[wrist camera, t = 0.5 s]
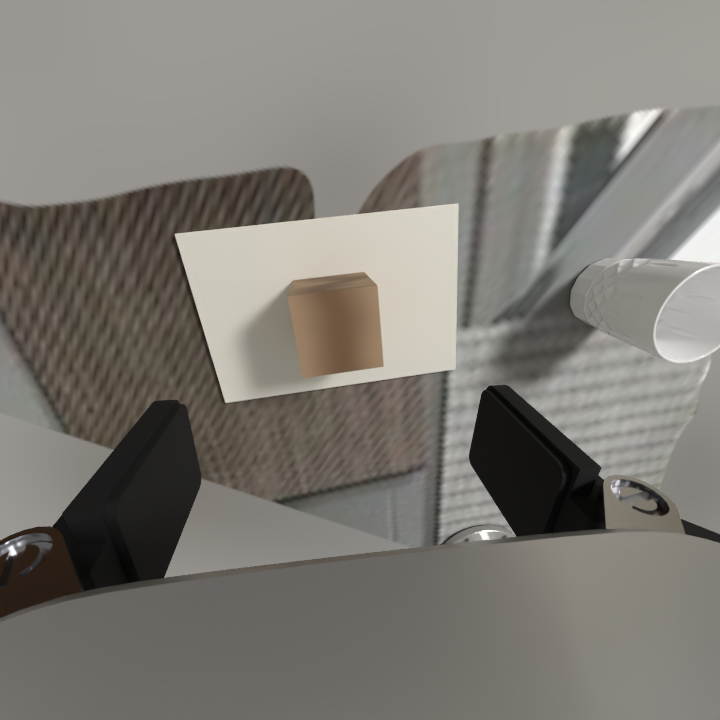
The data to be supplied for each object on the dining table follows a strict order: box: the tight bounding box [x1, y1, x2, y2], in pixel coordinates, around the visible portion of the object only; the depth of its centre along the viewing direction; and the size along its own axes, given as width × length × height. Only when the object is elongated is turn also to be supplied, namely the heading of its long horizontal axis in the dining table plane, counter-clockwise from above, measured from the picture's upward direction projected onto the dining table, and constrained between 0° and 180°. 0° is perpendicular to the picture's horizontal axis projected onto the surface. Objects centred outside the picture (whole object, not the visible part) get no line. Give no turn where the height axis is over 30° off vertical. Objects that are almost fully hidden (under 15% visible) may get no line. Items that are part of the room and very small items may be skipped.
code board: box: [175, 204, 458, 403], centre depth 31 cm, size 24×16×1 cm, turn 96°
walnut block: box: [287, 272, 384, 378], centre depth 28 cm, size 6×6×7 cm
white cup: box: [570, 258, 720, 364], centre depth 30 cm, size 8×8×10 cm
